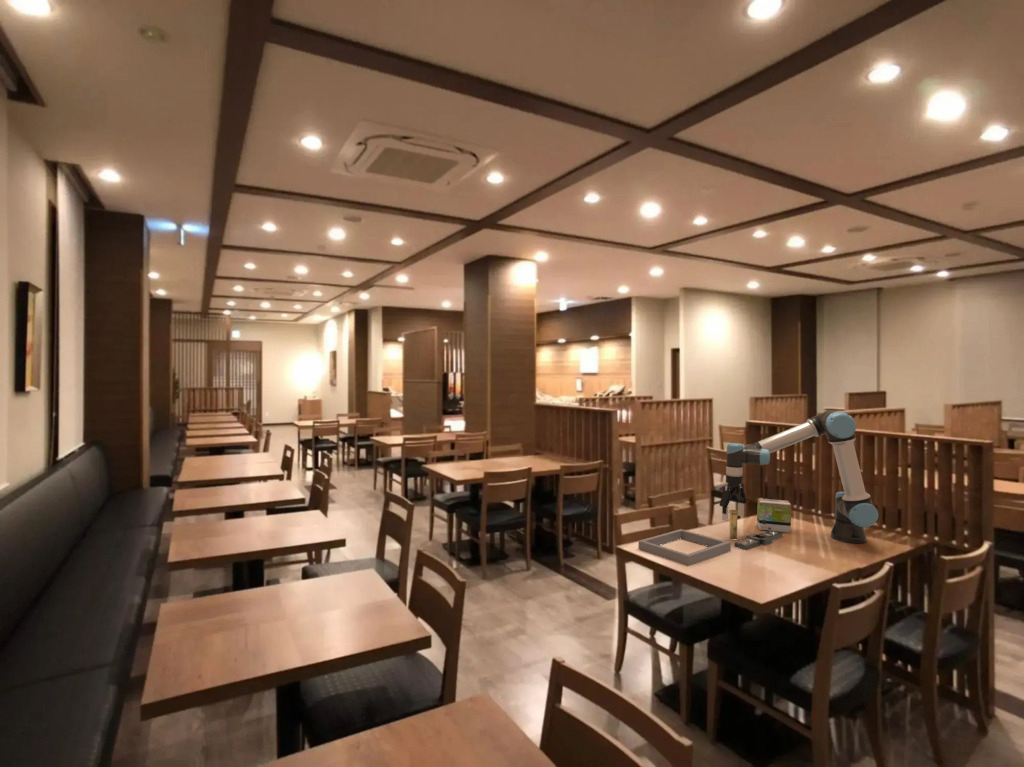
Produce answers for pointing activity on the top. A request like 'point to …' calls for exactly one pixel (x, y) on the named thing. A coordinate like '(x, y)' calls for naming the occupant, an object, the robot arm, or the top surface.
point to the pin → (733, 524)
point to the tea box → (774, 515)
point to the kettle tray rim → (688, 559)
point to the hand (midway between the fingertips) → (732, 518)
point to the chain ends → (758, 539)
